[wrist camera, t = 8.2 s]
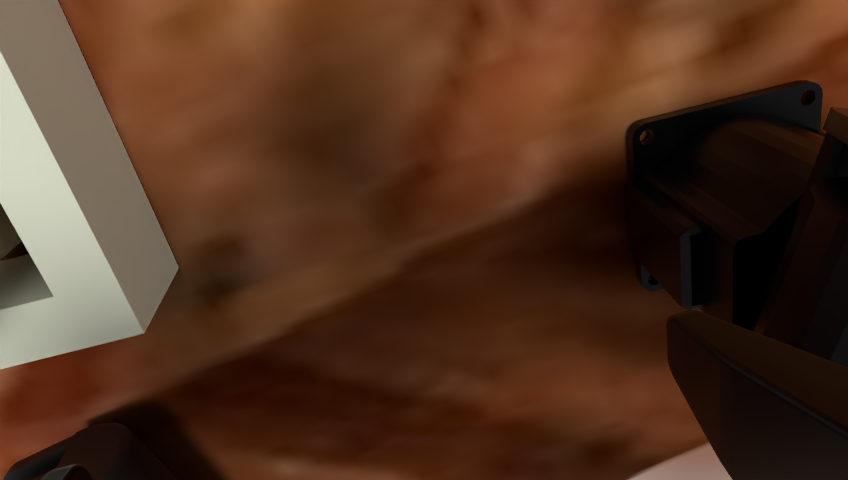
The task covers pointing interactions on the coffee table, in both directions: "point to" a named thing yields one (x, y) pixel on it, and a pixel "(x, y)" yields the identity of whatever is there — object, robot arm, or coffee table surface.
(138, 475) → the end cap
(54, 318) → the hole block
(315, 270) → the coffee table surface
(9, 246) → the beech peg
